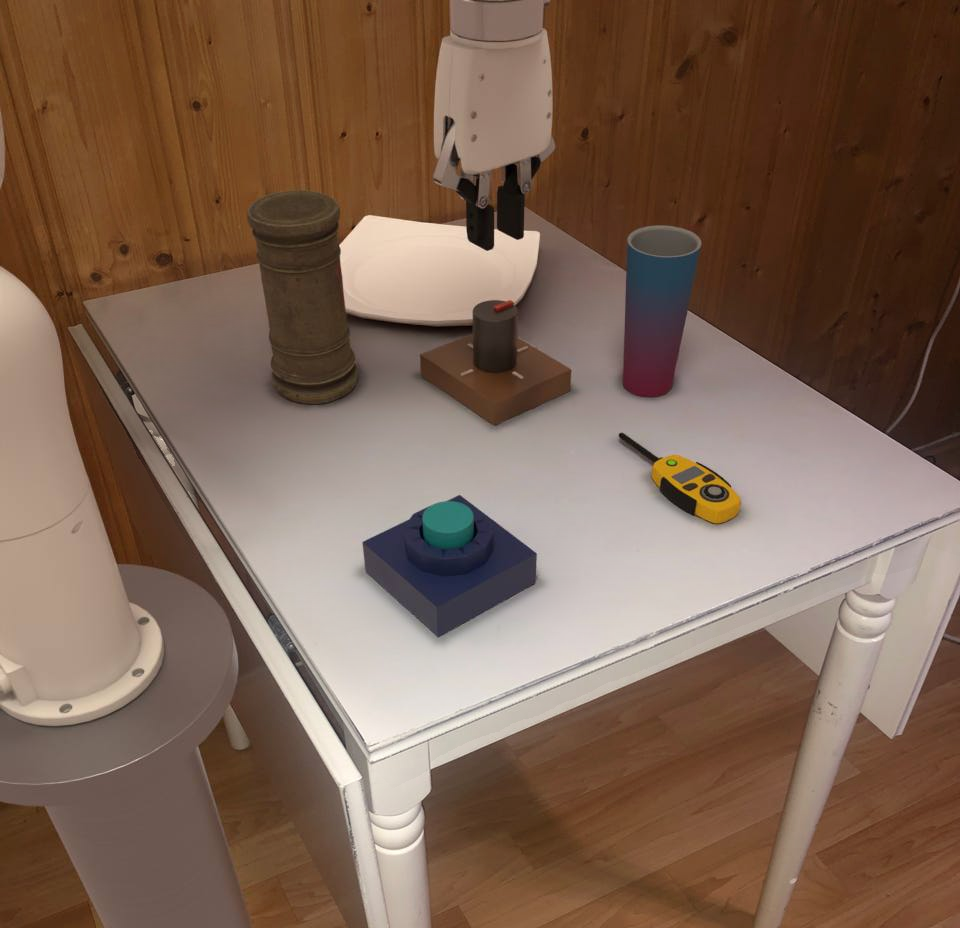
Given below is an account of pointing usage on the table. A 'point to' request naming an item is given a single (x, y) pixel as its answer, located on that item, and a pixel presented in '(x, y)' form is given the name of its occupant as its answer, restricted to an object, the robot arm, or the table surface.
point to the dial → (495, 335)
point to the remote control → (692, 486)
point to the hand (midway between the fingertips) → (495, 238)
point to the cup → (656, 305)
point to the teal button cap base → (449, 570)
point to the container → (304, 295)
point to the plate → (430, 271)
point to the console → (495, 379)
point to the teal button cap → (448, 525)
